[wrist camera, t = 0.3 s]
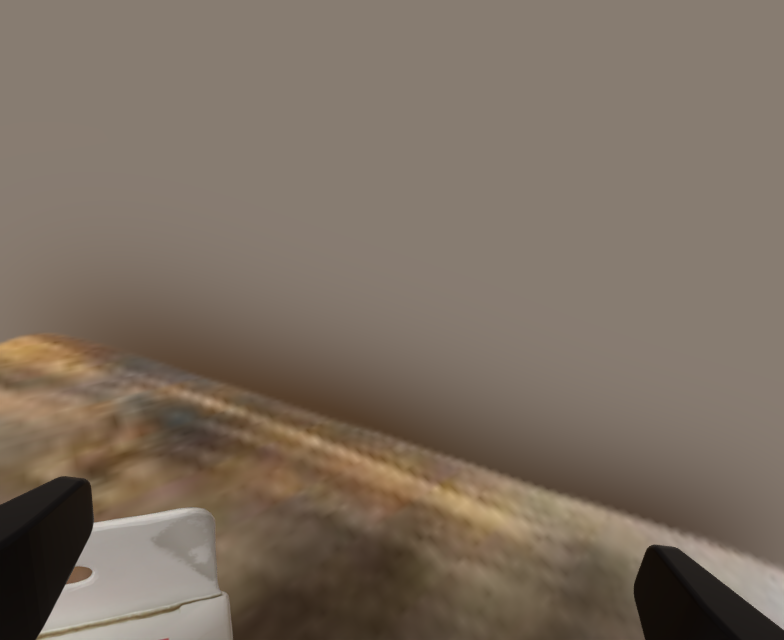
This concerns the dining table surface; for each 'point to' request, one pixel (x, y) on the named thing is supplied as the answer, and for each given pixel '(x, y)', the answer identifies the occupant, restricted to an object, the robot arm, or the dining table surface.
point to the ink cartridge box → (146, 582)
